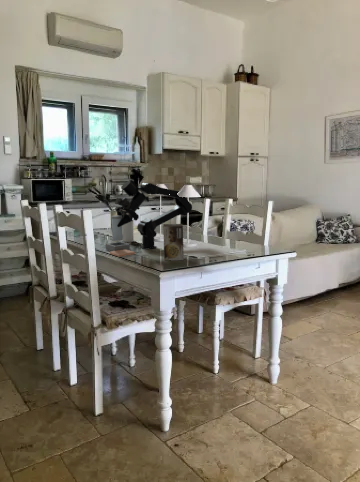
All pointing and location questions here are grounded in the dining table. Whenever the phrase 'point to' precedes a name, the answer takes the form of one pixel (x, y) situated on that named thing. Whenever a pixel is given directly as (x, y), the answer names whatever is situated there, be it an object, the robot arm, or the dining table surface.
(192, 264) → the dining table surface
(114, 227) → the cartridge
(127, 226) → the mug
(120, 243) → the dock
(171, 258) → the coffee box
